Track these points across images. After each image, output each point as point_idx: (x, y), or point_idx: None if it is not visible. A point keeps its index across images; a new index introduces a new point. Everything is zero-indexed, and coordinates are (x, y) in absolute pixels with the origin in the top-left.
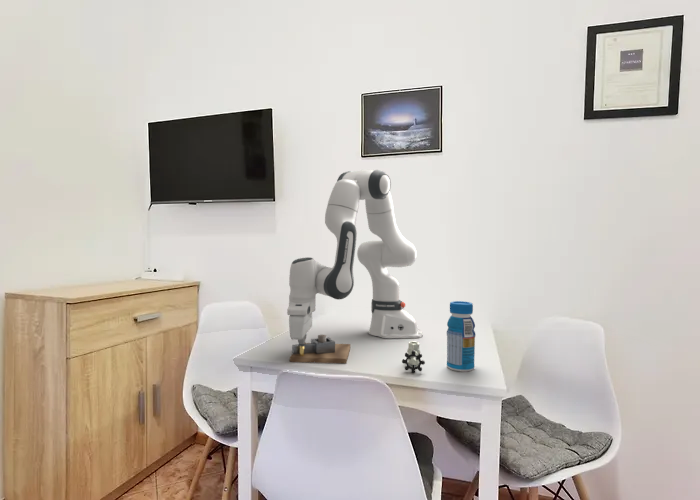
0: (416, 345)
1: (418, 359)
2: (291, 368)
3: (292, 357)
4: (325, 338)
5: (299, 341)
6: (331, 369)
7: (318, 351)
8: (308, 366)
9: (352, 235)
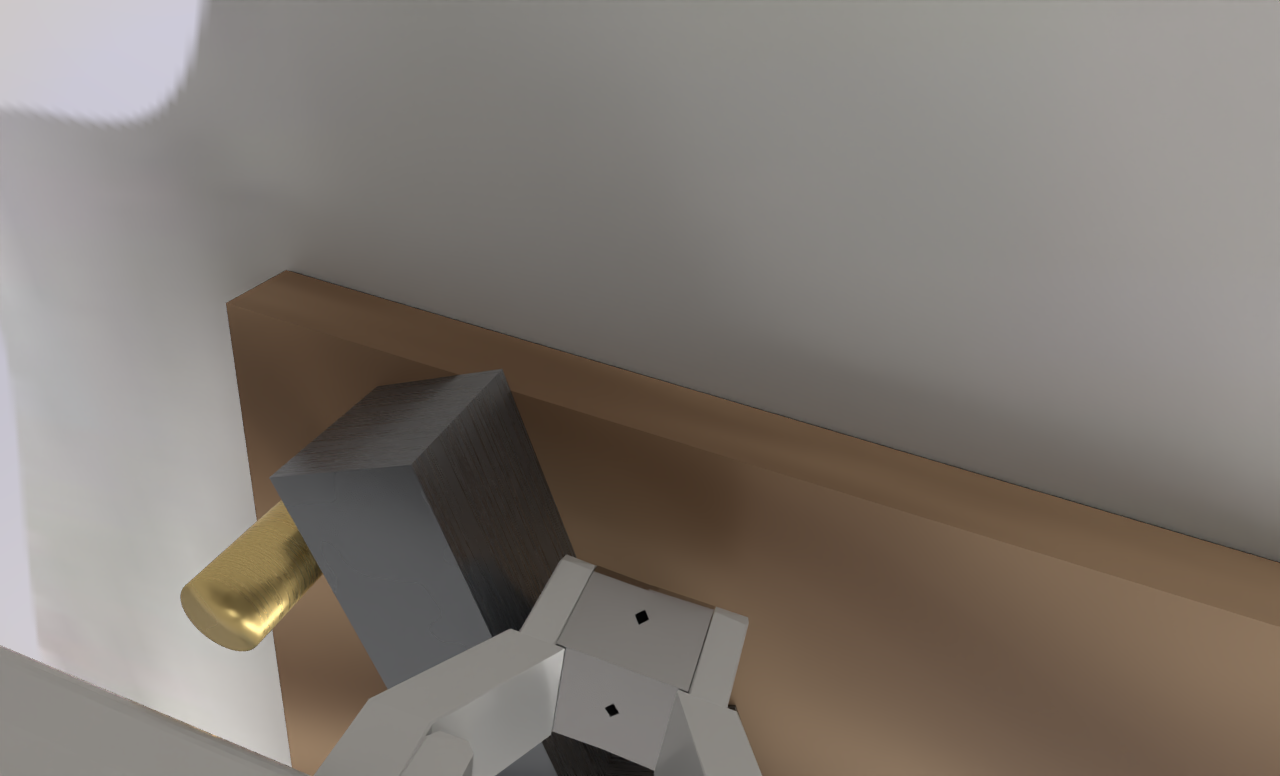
0: None
1: None
2: (26, 277)
3: (236, 344)
4: None
5: (474, 665)
6: (142, 660)
7: None
8: (162, 487)
9: None
